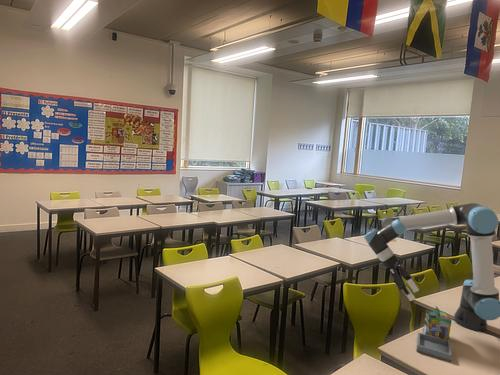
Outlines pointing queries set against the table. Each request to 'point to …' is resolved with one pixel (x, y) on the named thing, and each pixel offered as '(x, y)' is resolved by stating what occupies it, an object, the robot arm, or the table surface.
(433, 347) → the tray
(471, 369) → the table surface
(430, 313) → the chalk box
